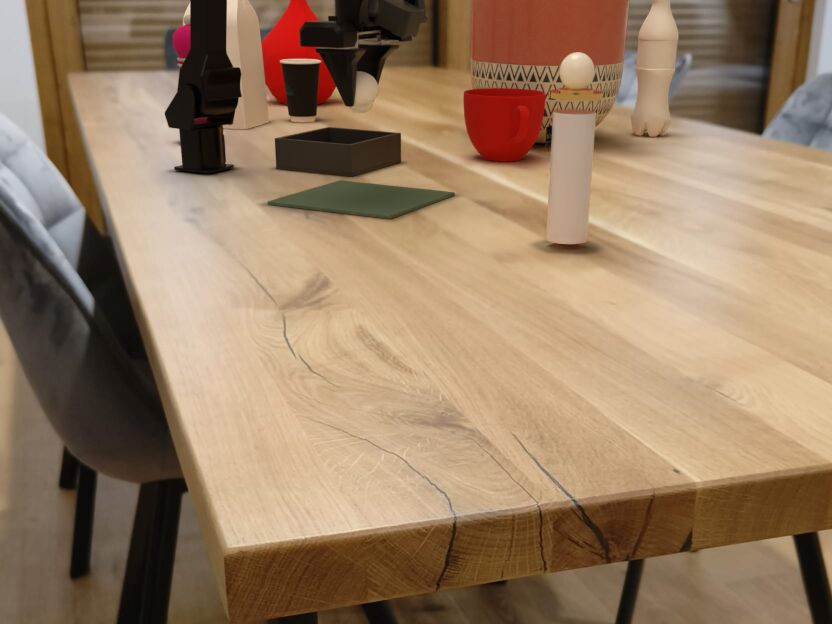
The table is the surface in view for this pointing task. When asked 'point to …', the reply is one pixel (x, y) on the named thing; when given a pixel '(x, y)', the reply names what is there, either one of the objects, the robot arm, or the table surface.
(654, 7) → the water bottle
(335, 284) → the table surface
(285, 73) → the dixie cup
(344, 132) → the black box
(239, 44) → the milk
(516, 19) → the planter
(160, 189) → the table surface
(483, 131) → the ceramic cup
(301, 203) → the placemat
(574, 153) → the perfume bottle
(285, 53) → the vase
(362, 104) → the mushroom
